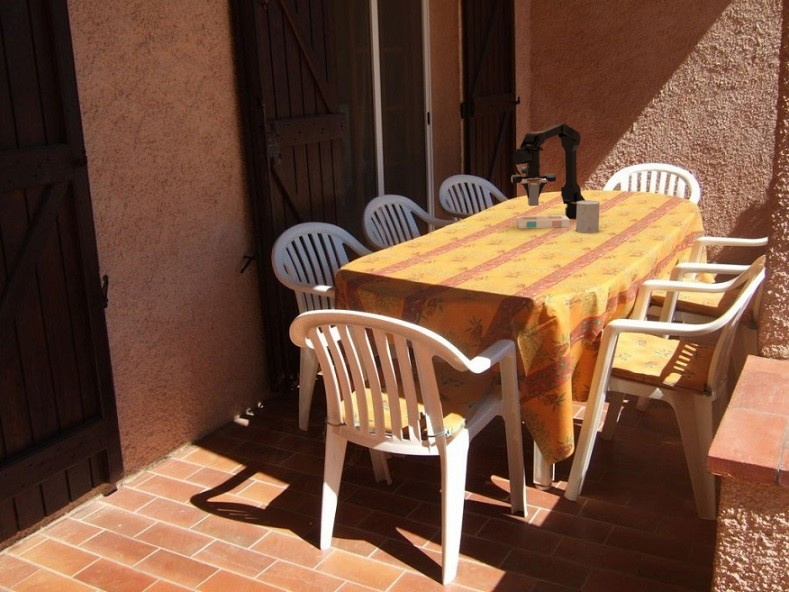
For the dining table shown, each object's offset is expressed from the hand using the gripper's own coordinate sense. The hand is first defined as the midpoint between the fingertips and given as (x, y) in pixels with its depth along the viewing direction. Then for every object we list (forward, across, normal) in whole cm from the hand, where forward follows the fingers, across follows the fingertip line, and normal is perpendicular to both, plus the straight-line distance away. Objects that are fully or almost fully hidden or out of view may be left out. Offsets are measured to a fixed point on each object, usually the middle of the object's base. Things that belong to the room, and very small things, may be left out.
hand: (533, 198), depth 383 cm
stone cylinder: (+13, -21, +13) cm, 28 cm away
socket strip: (+13, -4, -2) cm, 14 cm away
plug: (+3, 0, 0) cm, 3 cm away
